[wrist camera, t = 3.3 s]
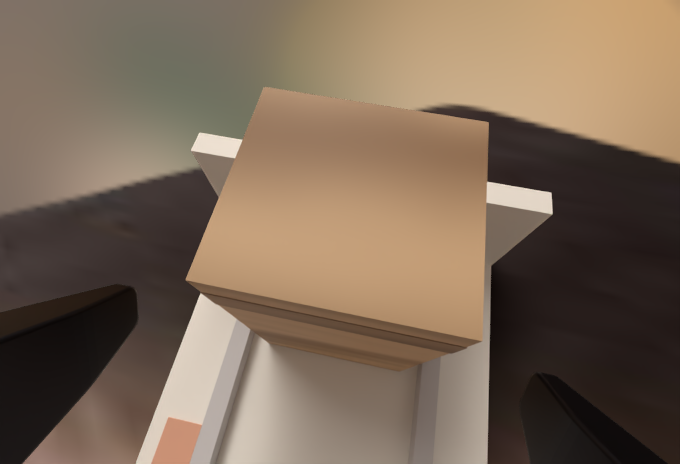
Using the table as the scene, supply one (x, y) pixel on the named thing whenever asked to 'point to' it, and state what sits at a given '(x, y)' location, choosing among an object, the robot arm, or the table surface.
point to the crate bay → (327, 378)
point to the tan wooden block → (352, 230)
